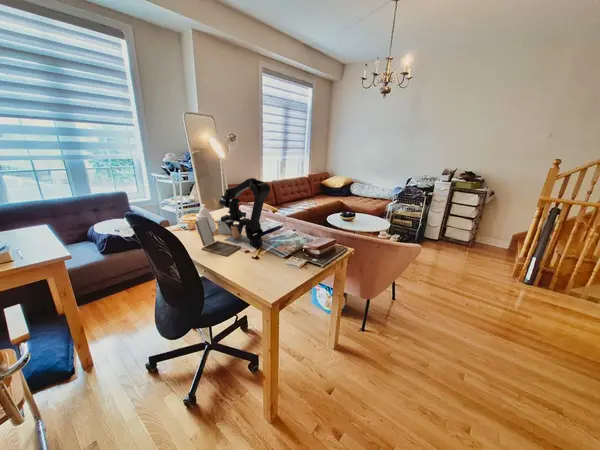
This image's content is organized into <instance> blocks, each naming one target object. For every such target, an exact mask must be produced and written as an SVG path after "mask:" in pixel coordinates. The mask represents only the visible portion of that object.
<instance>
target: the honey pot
mask: <svg viewBox="0 0 600 450" xmlns="http://www.w3.org/2000/svg"><path fill="white" fill-rule="evenodd" d="M200 207H201V208H200V209H199V211H198V213H196V215H195V217H196V221H198V220H201V219H202V217H204V218H206V217H207V219H208V222H209V225H210V228H211V231H212V234H213V233H215V232H216V231H217V223H216V221H215V219H214V217H213V216H212V215H213V214H212V213H211V212H210V211H209V209H207V208H206V204H204V203H203V204H202V203H201V204H200ZM195 232H196V234H198V235H199V232H198V229H197V226H196V224H195Z"/></svg>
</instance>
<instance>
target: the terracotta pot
mask: <svg viewBox="0 0 600 450" xmlns="http://www.w3.org/2000/svg"><path fill="white" fill-rule="evenodd" d="M238 224H239V223H233V225H231V229H232V234H231V236H232V238H234V239H238V238H241V237H242V233H241V234H239V231H238V227H237V225H238Z"/></svg>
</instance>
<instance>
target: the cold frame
mask: <svg viewBox="0 0 600 450" xmlns="http://www.w3.org/2000/svg"><path fill="white" fill-rule="evenodd" d="M203 218H204V217H202V219H203ZM239 249H241V245H238V244H235V243H234V244H232V243H231V242H230V243H228V242H225V241H221V240H216V241H215V242H212V243H210V244H208V245H206V246H202V247H201V250H202V251H204V252H209V253H213V254H215V255H219V256H222V257H228V256H229V255H231V254H233V253H235V252H236V251H238V250H239Z"/></svg>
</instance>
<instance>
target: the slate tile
mask: <svg viewBox="0 0 600 450" xmlns="http://www.w3.org/2000/svg"><path fill="white" fill-rule="evenodd" d="M241 235H242V234H241ZM245 240H248V238H247V235H242V237H241V238H238V239H234V238H232V235H231V236H229V237H227V238H225V239H224V242H225V241H226V242H230V243H234V244H240V243H241V242H243V241H245Z"/></svg>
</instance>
